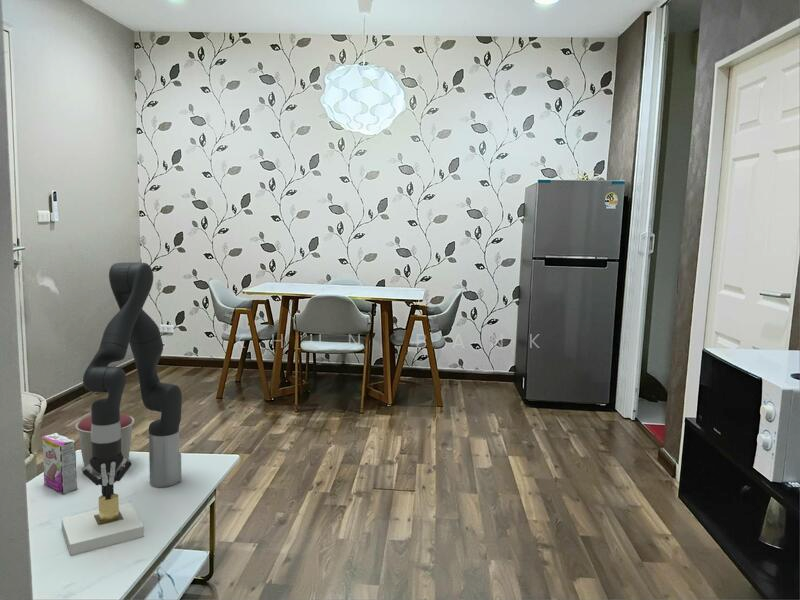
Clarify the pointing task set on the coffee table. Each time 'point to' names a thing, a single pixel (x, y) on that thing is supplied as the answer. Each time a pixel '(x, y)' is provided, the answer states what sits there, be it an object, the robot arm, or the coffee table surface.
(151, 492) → the coffee table surface
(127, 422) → the canister
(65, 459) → the candy bar box
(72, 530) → the jig
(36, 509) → the coffee table surface
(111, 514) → the gold metal peg
